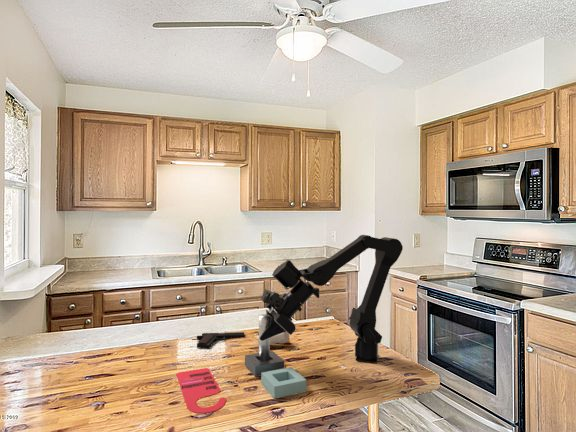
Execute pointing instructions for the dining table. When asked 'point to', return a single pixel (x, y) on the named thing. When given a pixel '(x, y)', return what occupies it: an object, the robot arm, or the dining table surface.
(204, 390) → the door hanger
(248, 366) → the socket block
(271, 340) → the toilet paper hanger
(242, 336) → the handgun
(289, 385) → the block
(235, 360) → the dining table surface
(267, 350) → the steel pin
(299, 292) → the robot arm
